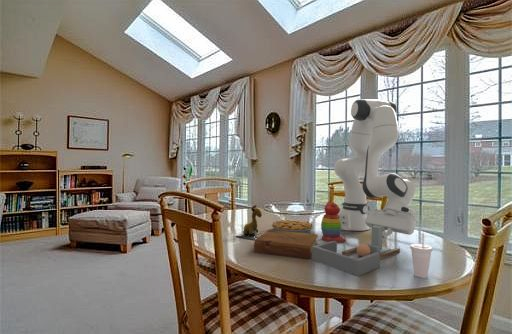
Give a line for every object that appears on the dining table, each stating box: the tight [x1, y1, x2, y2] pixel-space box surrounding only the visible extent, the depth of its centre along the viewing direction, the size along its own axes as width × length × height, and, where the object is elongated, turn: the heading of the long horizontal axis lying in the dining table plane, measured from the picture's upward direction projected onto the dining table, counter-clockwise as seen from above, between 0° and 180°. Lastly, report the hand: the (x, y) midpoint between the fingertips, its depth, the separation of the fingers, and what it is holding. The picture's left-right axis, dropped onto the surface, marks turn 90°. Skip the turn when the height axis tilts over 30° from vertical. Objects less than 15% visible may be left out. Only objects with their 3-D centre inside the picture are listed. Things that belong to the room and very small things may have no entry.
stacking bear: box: [320, 201, 346, 243], centre depth 137 cm, size 11×10×18 cm
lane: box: [341, 241, 401, 261], centre depth 116 cm, size 12×22×2 cm, turn 126°
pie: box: [271, 219, 314, 234], centre depth 153 cm, size 22×22×5 cm
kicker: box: [364, 225, 392, 254], centre depth 118 cm, size 8×9×10 cm
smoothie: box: [409, 232, 433, 279], centre depth 94 cm, size 6×6×14 cm
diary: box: [253, 229, 319, 260], centre depth 122 cm, size 23×19×6 cm
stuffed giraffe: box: [237, 204, 264, 241], centre depth 147 cm, size 16×18×16 cm
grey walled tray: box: [311, 241, 381, 277], centre depth 105 cm, size 20×13×5 cm, turn 36°
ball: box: [356, 243, 371, 257], centre depth 113 cm, size 5×5×5 cm
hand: (382, 237), depth 120 cm, fingers closed
